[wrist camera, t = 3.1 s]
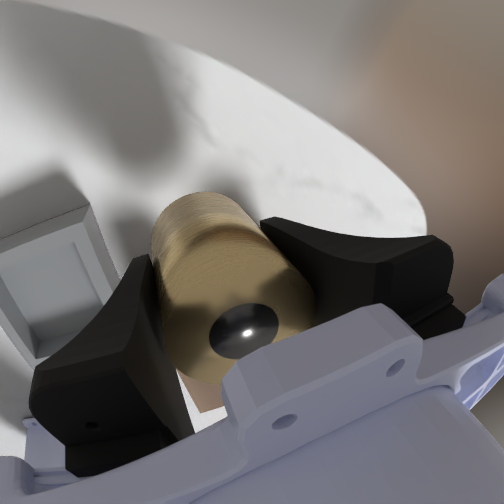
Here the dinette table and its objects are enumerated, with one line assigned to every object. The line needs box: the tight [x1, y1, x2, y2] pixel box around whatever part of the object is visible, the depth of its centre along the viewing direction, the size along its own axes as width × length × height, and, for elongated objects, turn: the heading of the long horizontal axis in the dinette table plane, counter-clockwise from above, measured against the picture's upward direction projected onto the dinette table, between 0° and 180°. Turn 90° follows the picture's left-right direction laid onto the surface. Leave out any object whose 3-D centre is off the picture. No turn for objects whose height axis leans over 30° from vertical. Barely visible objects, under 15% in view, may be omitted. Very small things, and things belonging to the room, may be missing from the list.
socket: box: [0, 204, 120, 370], centre depth 15 cm, size 8×8×2 cm
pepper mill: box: [151, 192, 316, 385], centre depth 11 cm, size 4×4×6 cm
